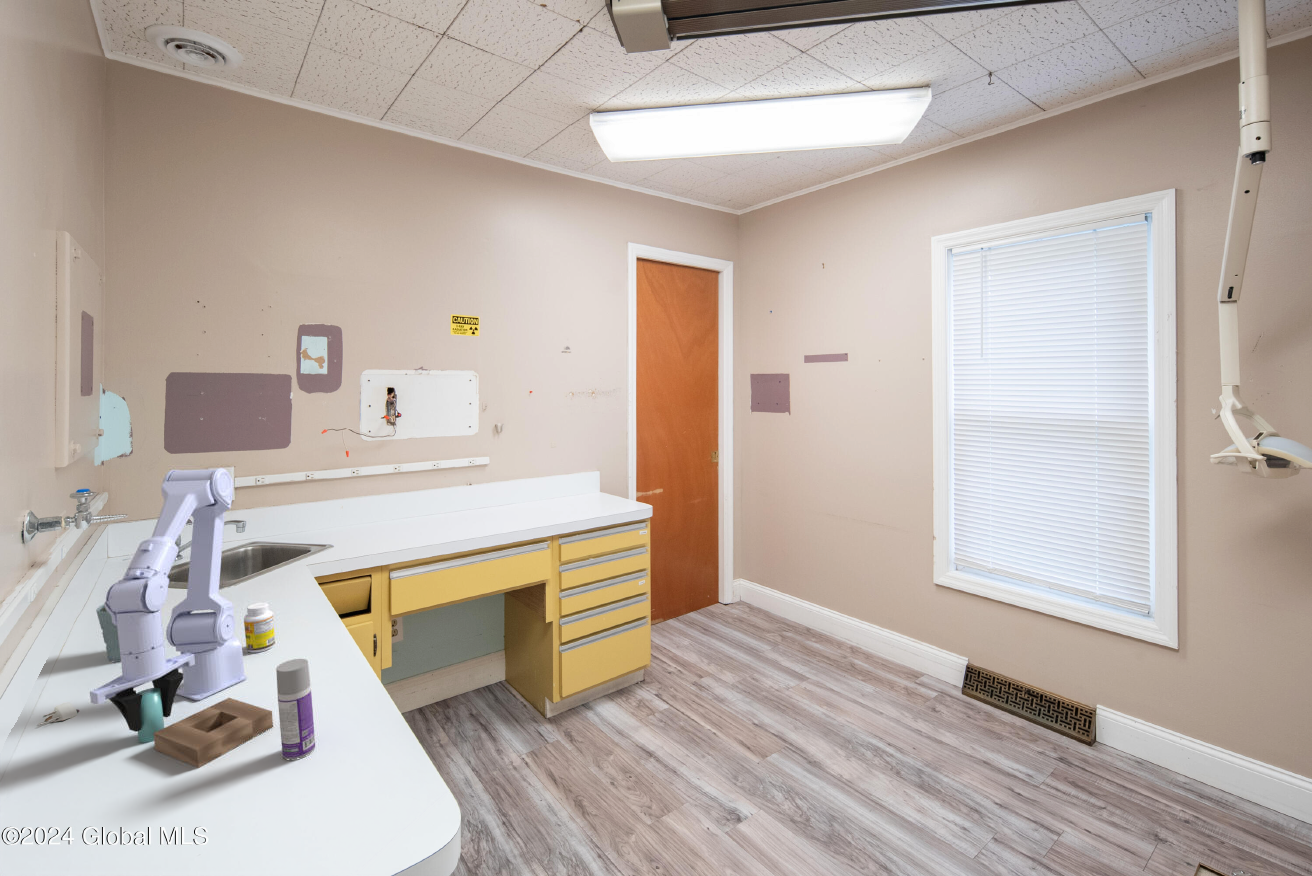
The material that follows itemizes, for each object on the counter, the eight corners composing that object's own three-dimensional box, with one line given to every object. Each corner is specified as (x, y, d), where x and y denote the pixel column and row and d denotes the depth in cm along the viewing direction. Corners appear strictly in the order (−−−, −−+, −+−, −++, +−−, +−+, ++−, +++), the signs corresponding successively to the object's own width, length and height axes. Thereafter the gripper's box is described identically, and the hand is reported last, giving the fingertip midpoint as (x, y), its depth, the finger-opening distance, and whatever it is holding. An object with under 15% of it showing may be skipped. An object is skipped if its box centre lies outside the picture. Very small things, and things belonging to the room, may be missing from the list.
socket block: (230, 712, 111) (229, 697, 111) (273, 727, 106) (271, 711, 106) (155, 750, 100) (153, 733, 100) (199, 767, 95) (197, 749, 95)
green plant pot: (172, 644, 141) (167, 595, 139) (131, 665, 131) (125, 612, 129) (133, 643, 142) (128, 594, 140) (89, 663, 132) (83, 611, 130)
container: (310, 739, 102) (304, 655, 101) (319, 751, 99) (312, 664, 97) (279, 751, 99) (272, 665, 98) (286, 764, 96) (279, 674, 94)
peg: (157, 729, 106) (153, 686, 105) (169, 733, 105) (164, 690, 104) (134, 740, 103) (129, 695, 102) (145, 744, 102) (141, 700, 101)
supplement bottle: (246, 647, 139) (242, 604, 138) (274, 640, 142) (271, 599, 141) (246, 656, 134) (243, 612, 133) (276, 649, 137) (272, 606, 136)
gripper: (174, 627, 110) (181, 697, 112) (75, 662, 97) (84, 741, 98) (199, 632, 108) (206, 704, 109) (101, 669, 94) (110, 750, 96)
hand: (150, 722), depth 104 cm, fingers open, 4 cm apart
